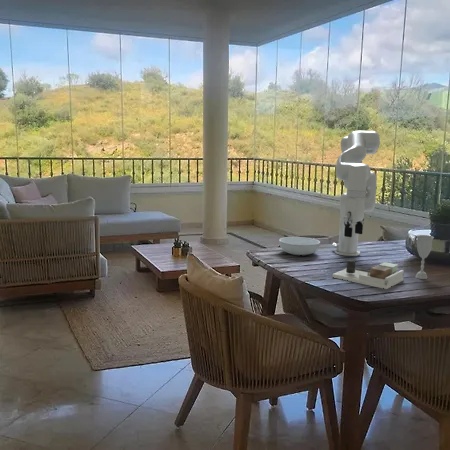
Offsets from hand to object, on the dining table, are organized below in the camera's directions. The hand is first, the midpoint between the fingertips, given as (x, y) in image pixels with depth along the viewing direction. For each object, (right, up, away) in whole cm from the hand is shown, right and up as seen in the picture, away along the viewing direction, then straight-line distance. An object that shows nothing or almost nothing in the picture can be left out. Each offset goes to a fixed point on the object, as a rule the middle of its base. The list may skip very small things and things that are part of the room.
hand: (353, 235), depth 209 cm
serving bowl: (-16, -11, +46) cm, 50 cm away
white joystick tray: (+7, -19, +2) cm, 20 cm away
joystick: (+5, -17, -2) cm, 18 cm away
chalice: (+31, -19, +7) cm, 37 cm away
